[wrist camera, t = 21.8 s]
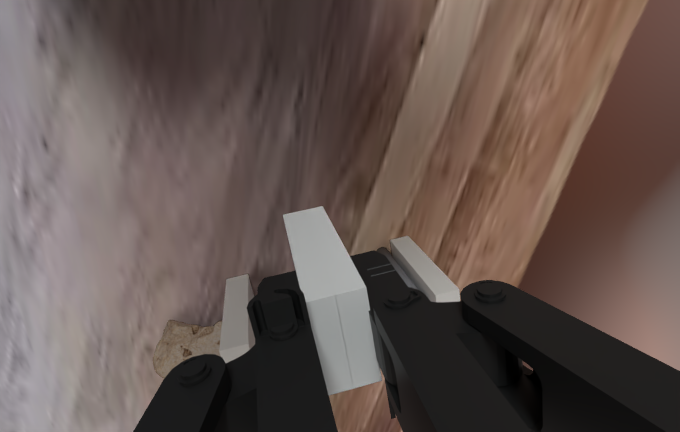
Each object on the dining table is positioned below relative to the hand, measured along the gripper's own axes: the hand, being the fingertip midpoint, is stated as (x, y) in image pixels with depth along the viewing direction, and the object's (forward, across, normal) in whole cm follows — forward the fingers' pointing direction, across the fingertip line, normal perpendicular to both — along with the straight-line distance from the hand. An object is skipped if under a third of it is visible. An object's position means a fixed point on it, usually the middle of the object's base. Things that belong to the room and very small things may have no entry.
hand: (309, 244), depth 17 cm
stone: (+33, -9, -25) cm, 42 cm away
